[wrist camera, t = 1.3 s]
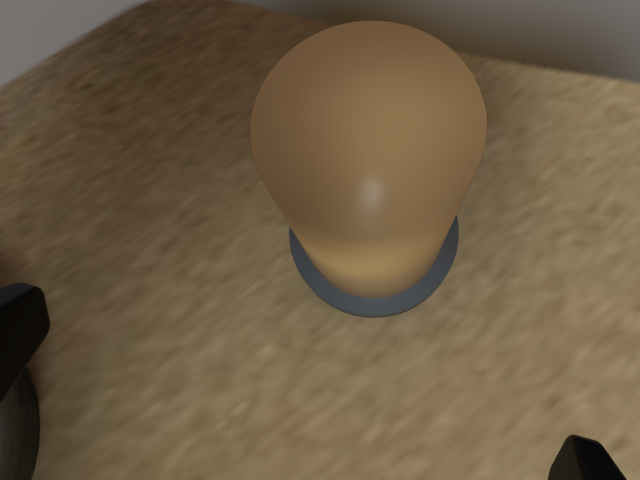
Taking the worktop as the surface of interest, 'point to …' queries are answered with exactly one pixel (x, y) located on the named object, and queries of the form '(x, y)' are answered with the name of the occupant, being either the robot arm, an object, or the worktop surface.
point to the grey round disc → (19, 430)
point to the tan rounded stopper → (370, 160)
